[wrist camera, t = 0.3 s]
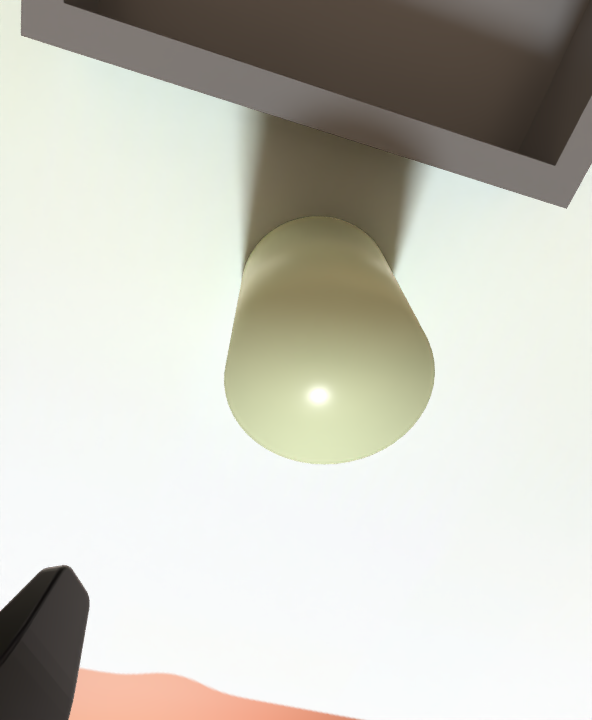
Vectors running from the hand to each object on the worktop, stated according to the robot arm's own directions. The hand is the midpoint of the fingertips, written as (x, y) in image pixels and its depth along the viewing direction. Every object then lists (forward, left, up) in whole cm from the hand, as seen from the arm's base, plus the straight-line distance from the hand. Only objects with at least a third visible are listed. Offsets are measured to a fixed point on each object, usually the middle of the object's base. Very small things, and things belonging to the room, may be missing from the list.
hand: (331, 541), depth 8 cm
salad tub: (-1, +1, -13) cm, 13 cm away
